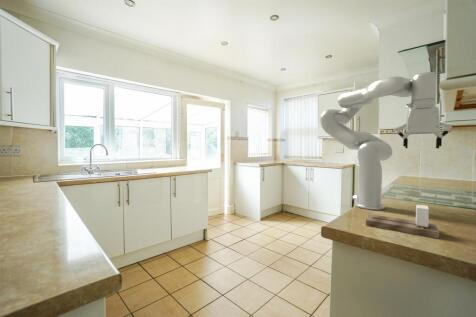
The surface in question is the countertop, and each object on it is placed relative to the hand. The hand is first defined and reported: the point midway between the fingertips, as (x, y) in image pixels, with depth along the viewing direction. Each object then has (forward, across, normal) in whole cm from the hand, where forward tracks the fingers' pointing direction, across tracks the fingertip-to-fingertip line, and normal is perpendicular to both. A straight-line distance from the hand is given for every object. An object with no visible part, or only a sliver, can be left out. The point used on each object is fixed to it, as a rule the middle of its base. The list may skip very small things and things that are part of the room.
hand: (421, 148), depth 88 cm
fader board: (+28, -6, -18) cm, 34 cm away
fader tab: (+26, 0, -18) cm, 32 cm away
